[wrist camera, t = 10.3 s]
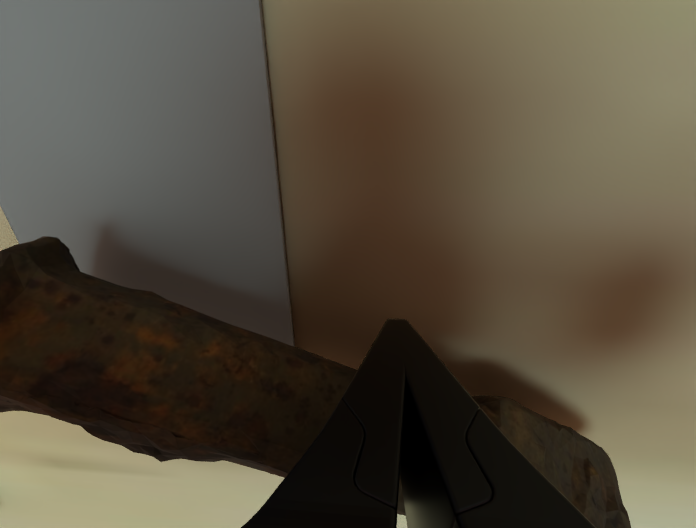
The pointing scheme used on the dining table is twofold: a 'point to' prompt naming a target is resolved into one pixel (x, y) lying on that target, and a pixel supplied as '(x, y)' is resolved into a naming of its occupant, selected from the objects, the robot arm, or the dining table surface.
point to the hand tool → (212, 381)
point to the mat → (148, 149)
